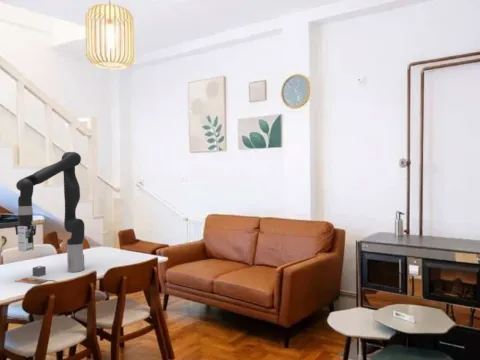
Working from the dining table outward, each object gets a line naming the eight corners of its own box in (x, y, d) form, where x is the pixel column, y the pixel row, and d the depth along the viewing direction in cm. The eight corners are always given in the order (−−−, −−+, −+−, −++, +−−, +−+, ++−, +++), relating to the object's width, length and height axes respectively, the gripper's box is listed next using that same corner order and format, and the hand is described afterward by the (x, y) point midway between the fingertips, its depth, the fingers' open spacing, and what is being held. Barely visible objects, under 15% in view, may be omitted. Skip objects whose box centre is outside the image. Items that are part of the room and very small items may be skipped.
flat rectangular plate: (26, 277, 233) (26, 277, 233) (60, 281, 225) (60, 281, 225) (14, 281, 226) (14, 281, 226) (48, 285, 217) (48, 285, 217)
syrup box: (25, 251, 224) (24, 226, 224) (17, 251, 226) (17, 226, 226) (33, 249, 229) (33, 225, 229) (26, 249, 231) (26, 224, 231)
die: (39, 273, 242) (39, 265, 242) (45, 274, 241) (45, 266, 240) (32, 276, 238) (32, 267, 238) (38, 276, 236) (38, 268, 236)
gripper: (40, 213, 228) (40, 242, 229) (21, 212, 233) (22, 240, 234) (29, 214, 221) (29, 244, 222) (10, 214, 226) (10, 243, 227)
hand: (25, 242), depth 228 cm, fingers closed on syrup box, 6 cm apart
